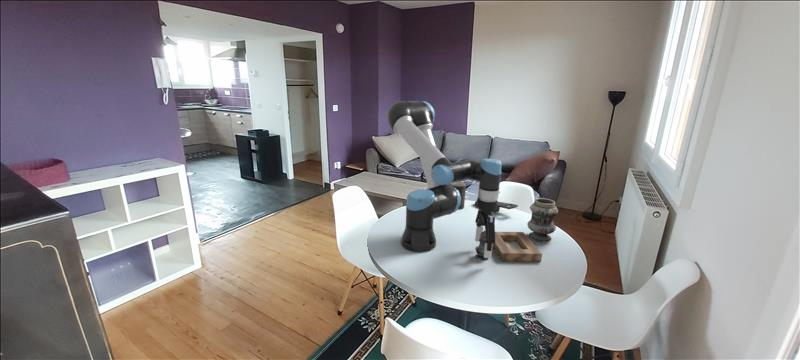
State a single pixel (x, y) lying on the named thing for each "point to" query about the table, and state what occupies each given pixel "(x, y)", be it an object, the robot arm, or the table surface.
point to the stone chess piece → (481, 247)
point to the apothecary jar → (542, 219)
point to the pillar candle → (461, 188)
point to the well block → (515, 247)
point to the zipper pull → (501, 205)
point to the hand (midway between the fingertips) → (482, 248)
